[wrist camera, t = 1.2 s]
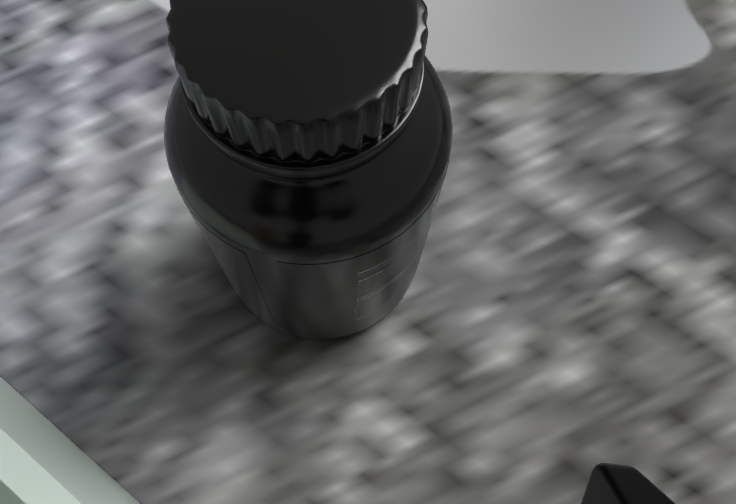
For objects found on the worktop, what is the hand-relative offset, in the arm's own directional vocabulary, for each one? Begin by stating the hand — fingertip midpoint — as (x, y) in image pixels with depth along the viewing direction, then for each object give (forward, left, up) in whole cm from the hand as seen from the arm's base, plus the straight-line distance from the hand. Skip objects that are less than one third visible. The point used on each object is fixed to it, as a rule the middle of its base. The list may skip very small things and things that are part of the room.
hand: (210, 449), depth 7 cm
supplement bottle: (+4, -6, -13) cm, 16 cm away
